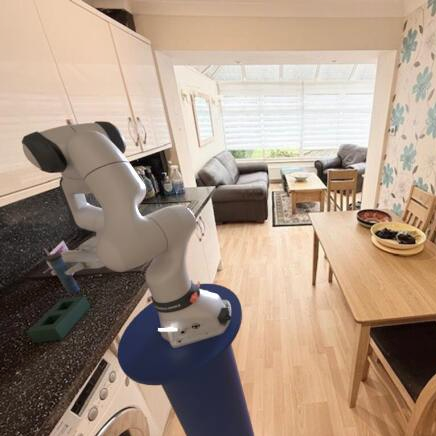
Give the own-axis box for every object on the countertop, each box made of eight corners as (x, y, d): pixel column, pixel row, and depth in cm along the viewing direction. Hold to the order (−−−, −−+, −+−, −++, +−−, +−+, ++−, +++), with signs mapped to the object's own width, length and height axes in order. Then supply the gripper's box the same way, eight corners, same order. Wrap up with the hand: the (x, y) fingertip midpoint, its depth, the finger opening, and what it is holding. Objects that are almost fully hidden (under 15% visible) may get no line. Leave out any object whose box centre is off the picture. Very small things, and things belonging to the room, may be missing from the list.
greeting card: (69, 281, 103) (52, 252, 96) (48, 286, 100) (29, 257, 94) (80, 267, 112) (65, 239, 106) (61, 271, 110) (44, 243, 104)
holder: (90, 305, 89) (84, 295, 87) (62, 339, 76) (54, 328, 74) (67, 308, 88) (61, 298, 86) (35, 343, 75) (26, 332, 73)
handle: (83, 286, 86) (63, 252, 79) (76, 294, 83) (54, 258, 76) (72, 288, 86) (51, 253, 79) (64, 295, 82) (42, 260, 76)
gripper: (65, 244, 92) (27, 266, 79) (114, 243, 90) (83, 265, 77) (72, 258, 94) (37, 281, 82) (120, 257, 93) (92, 280, 80)
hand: (60, 273), depth 80 cm, fingers closed on handle, 3 cm apart
